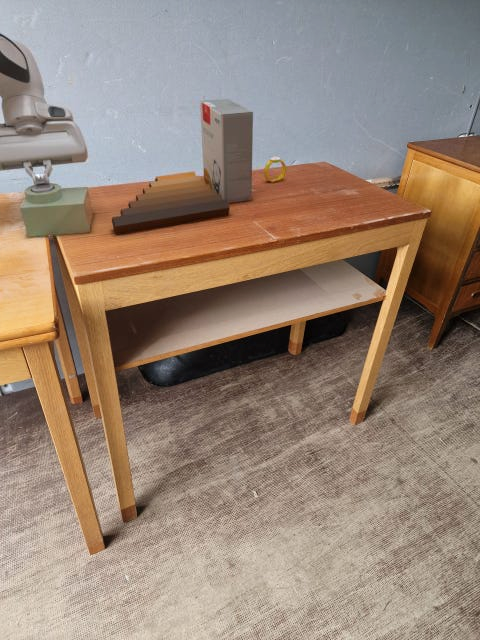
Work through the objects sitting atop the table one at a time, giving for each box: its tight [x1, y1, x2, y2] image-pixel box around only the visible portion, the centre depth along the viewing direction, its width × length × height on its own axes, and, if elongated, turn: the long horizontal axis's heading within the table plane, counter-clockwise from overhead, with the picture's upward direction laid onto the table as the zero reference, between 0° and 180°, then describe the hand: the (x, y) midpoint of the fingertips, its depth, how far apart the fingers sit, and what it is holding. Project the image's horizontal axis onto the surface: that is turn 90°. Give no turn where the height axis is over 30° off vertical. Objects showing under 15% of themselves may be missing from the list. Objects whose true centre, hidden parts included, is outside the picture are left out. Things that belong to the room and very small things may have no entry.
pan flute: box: [111, 171, 231, 236], centre depth 102 cm, size 25×3×25 cm
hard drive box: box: [199, 98, 254, 204], centre depth 105 cm, size 16×8×20 cm, turn 21°
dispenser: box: [19, 182, 94, 238], centre depth 92 cm, size 12×10×8 cm
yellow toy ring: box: [263, 156, 287, 183], centre depth 116 cm, size 6×3×6 cm, turn 118°
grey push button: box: [32, 185, 53, 193], centre depth 90 cm, size 4×4×2 cm
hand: (42, 184), depth 89 cm, fingers closed, pressing on grey push button
